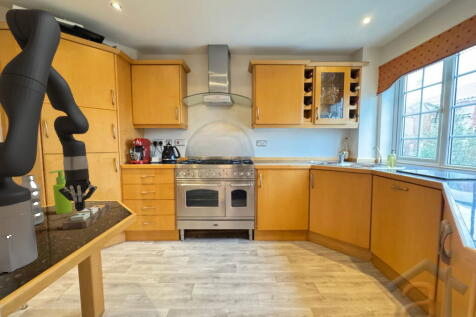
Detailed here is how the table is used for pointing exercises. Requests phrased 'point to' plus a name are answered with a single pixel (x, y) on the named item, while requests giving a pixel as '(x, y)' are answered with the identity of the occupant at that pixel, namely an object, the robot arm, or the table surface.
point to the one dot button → (99, 206)
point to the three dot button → (90, 210)
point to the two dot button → (80, 216)
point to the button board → (88, 221)
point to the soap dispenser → (60, 201)
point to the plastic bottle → (34, 197)
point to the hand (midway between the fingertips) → (80, 210)
